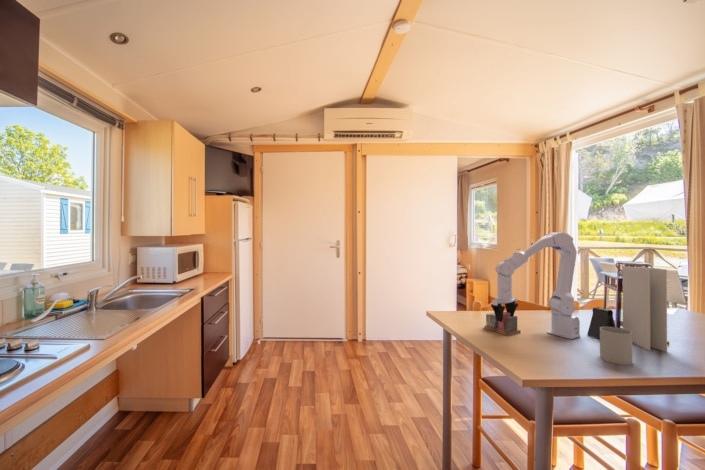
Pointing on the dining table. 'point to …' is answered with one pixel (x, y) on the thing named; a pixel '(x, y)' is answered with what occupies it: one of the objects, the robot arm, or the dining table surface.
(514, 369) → the dining table surface
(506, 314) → the burgundy book
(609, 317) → the door stopper
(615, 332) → the cup
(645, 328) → the brochure
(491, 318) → the grey slotted block
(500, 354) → the dining table surface
